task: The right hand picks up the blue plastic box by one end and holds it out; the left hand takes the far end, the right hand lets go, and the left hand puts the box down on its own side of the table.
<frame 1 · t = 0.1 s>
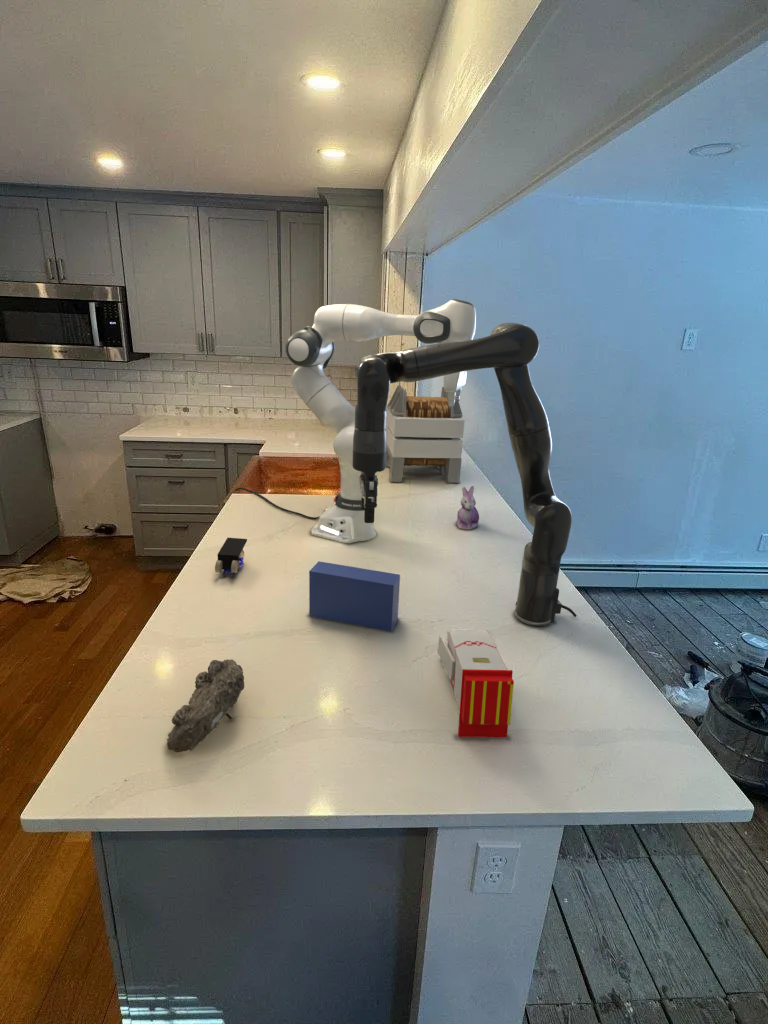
left hand: (453, 403, 174), 48 cm above the counter, tool pointing down, fingers open, 8 cm apart
right hand: (367, 516, 132), 29 cm above the counter, tool pointing down, fingers open, 8 cm apart
figurine character: (232, 569, 168), on the counter
box: (353, 617, 145), on the counter
toy: (469, 691, 119), on the counter
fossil: (212, 717, 108), on the counter
grey boxy piece: (419, 473, 275), on the counter
figurine: (467, 525, 210), on the counter
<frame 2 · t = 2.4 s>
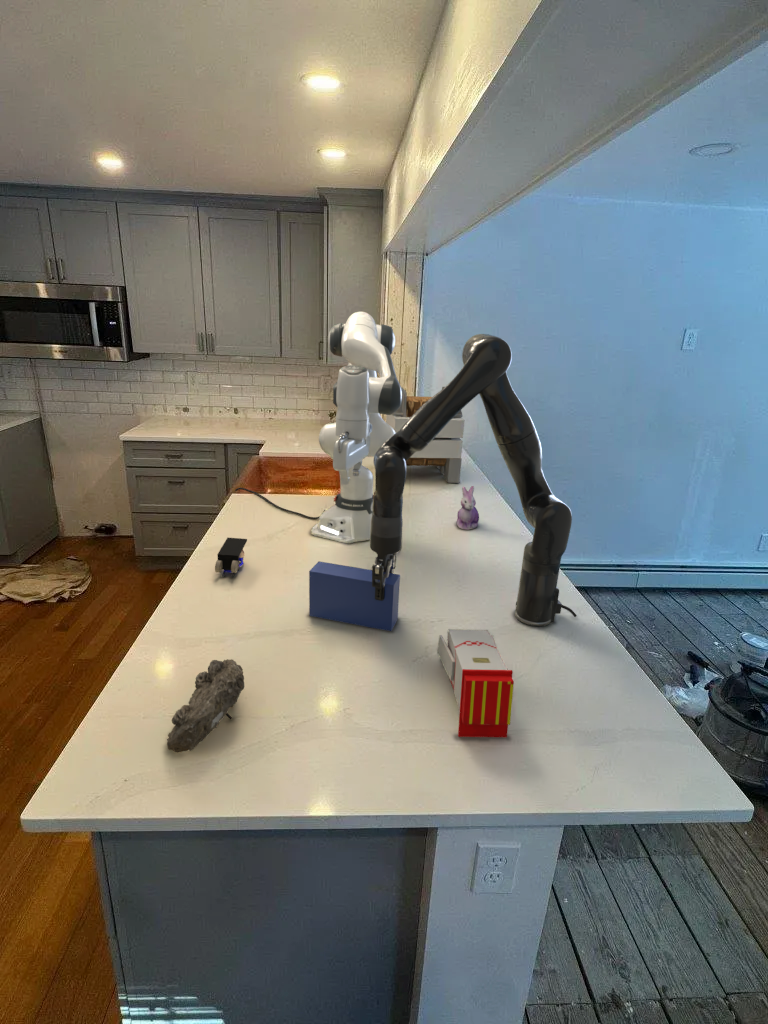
left hand: (351, 479, 154), 30 cm above the counter, tool pointing down, fingers open, 8 cm apart
right hand: (383, 593, 140), 8 cm above the counter, tool pointing down, fingers closed on box, 6 cm apart
box: (353, 617, 145), on the counter, touching right hand
everything else where it was.
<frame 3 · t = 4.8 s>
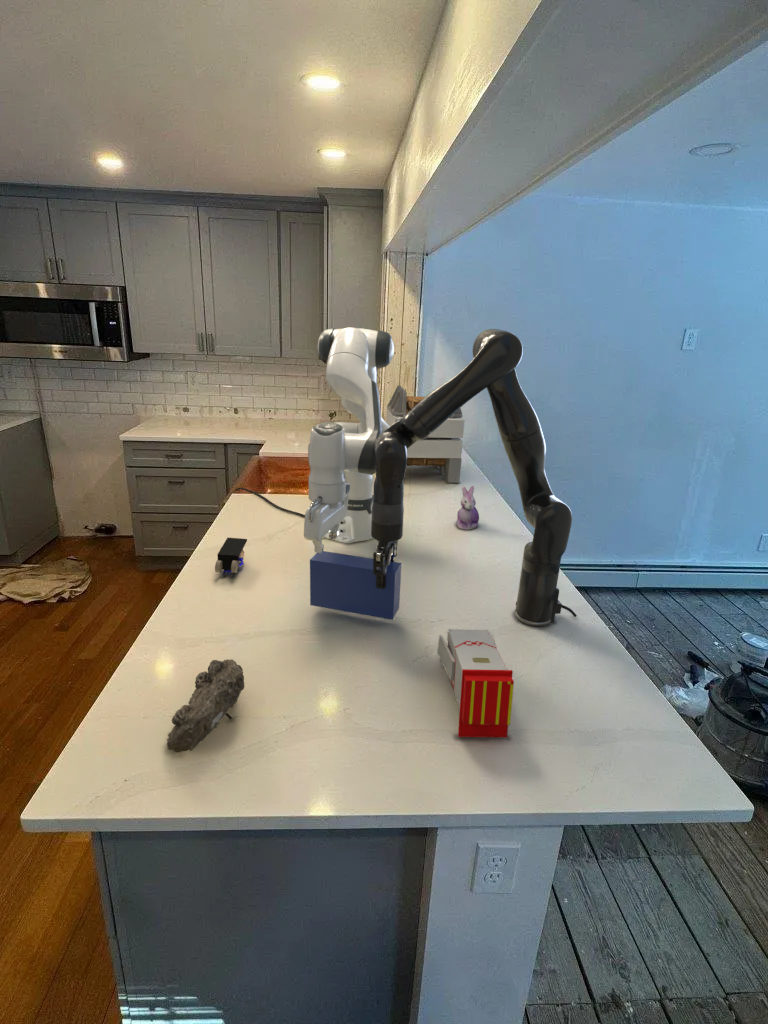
left hand: (326, 545, 141), 19 cm above the counter, tool pointing down, fingers open, 8 cm apart
right hand: (384, 581, 139), 12 cm above the counter, tool pointing down, fingers closed on box, 6 cm apart
box: (354, 606, 144), point 3 cm above the counter, touching right hand
everything else where it was.
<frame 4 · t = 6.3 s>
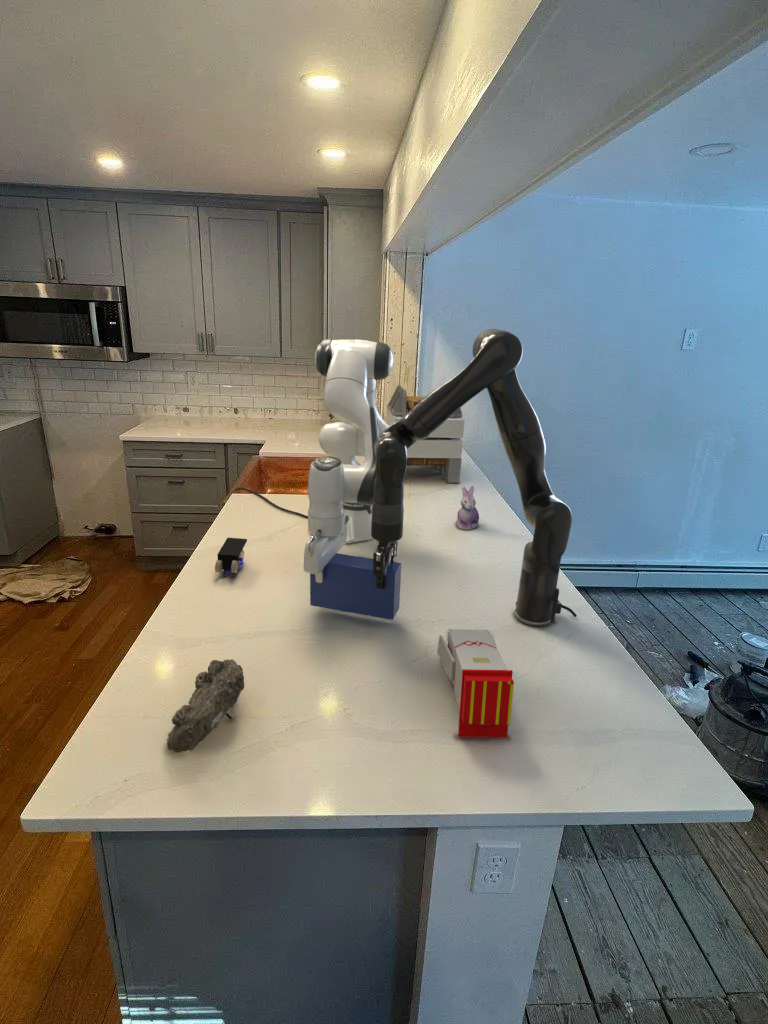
left hand: (325, 574, 143), 11 cm above the counter, tool pointing down, fingers closed on box, 6 cm apart
right hand: (384, 581, 139), 12 cm above the counter, tool pointing down, fingers closed on box, 6 cm apart
box: (354, 606, 144), point 3 cm above the counter, touching left hand, right hand
everything else where it was.
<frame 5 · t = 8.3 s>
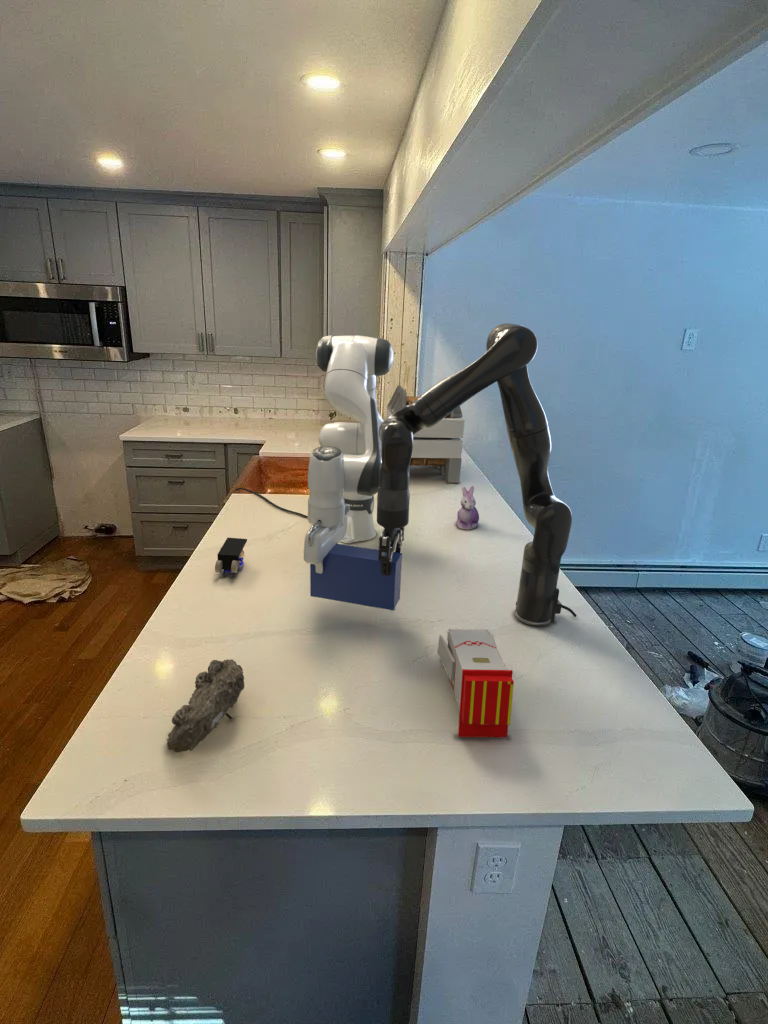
left hand: (325, 565, 142), 13 cm above the counter, tool pointing down, fingers closed on box, 6 cm apart
right hand: (391, 567, 137), 16 cm above the counter, tool pointing down, fingers open, 8 cm apart
box: (355, 597, 143), point 6 cm above the counter, touching left hand
everything else where it was.
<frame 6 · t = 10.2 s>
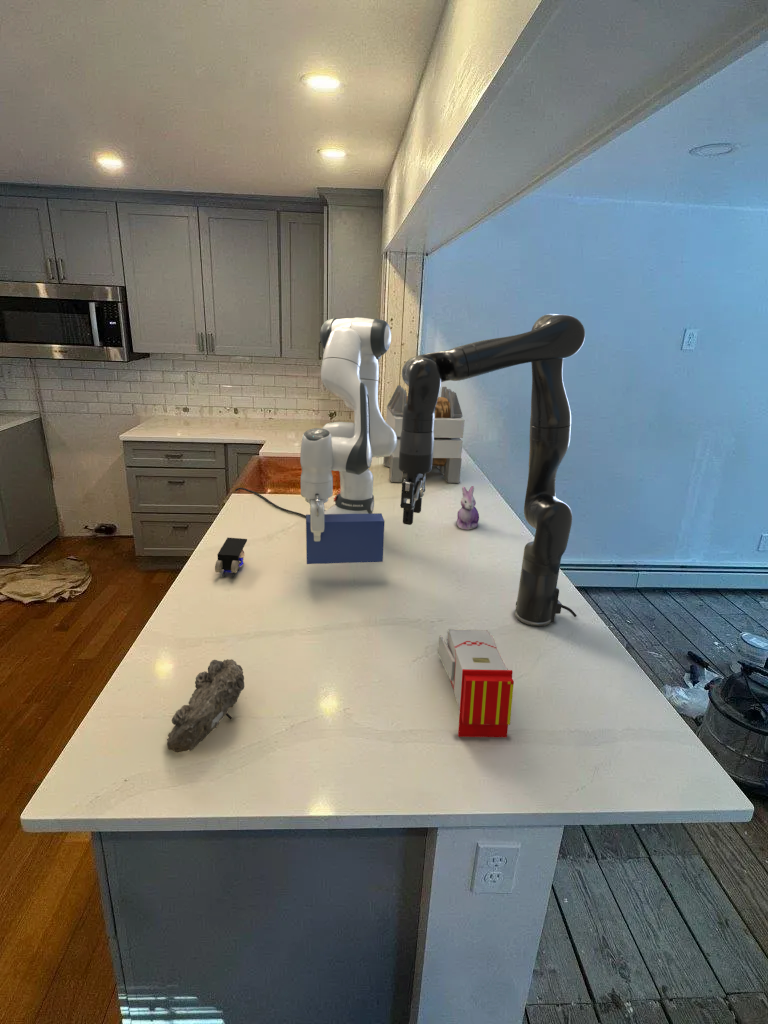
left hand: (316, 535, 161), 13 cm above the counter, tool pointing down, fingers closed on box, 6 cm apart
right hand: (412, 517, 132), 29 cm above the counter, tool pointing down, fingers open, 8 cm apart
box: (344, 558, 165), point 6 cm above the counter, touching left hand
everything else where it was.
when the left hand's fingers open (8 cm above the counter, at t = 11.7 s): box stays where it is, on the counter.
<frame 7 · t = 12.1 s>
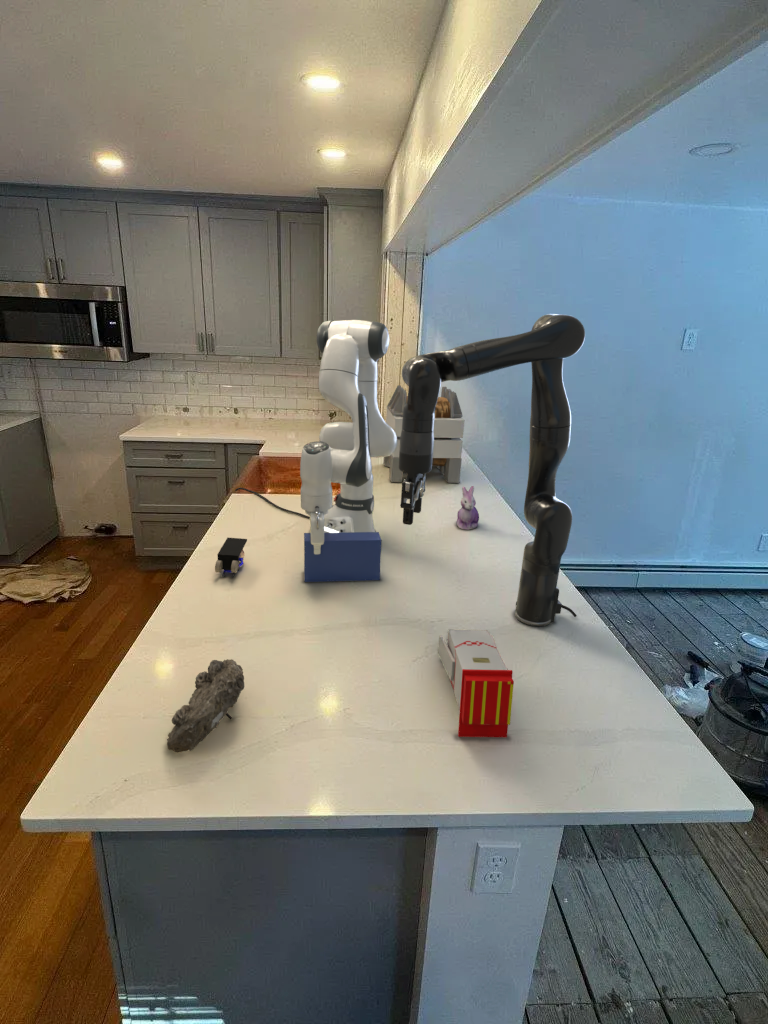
left hand: (316, 546, 163), 10 cm above the counter, tool pointing down, fingers open, 8 cm apart
right hand: (412, 517, 132), 29 cm above the counter, tool pointing down, fingers open, 8 cm apart
box: (341, 576, 167), on the counter
everything else where it was.
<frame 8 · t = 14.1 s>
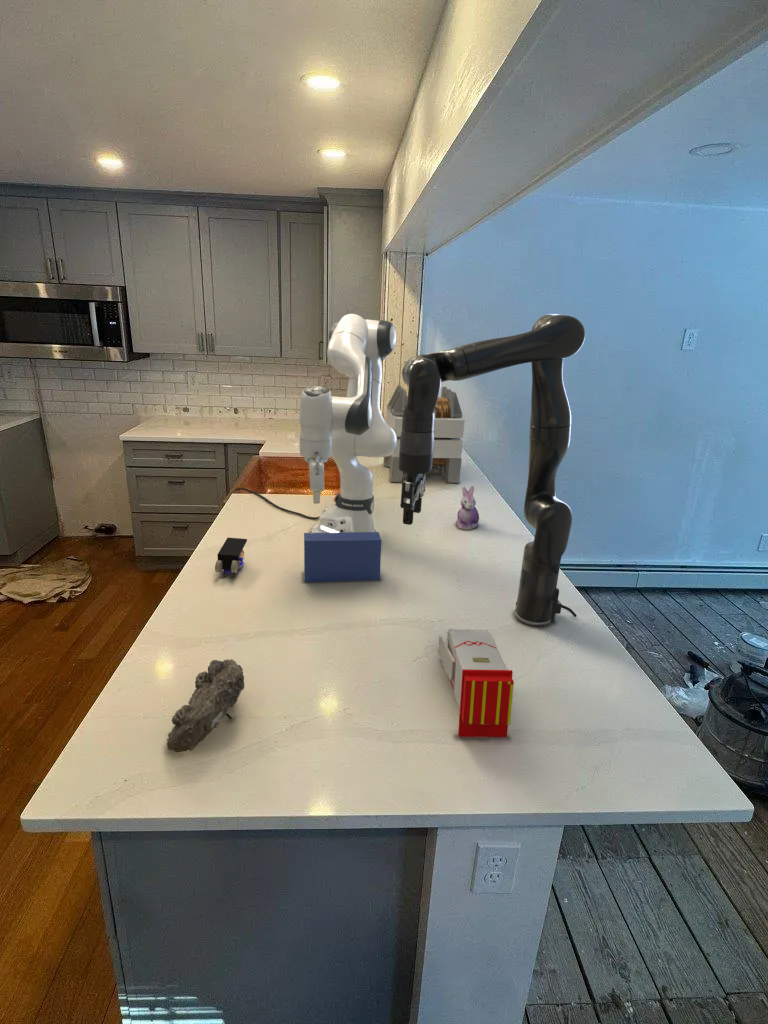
left hand: (316, 497, 157), 25 cm above the counter, tool pointing down, fingers open, 8 cm apart
right hand: (412, 517, 132), 29 cm above the counter, tool pointing down, fingers open, 8 cm apart
nothing on the counter moved.
at the end: box inside the target area (7.6 cm from its centre), on the counter; the left hand is holding nothing; the right hand is holding nothing; box at rest at the end (0.0 cm/s) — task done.
